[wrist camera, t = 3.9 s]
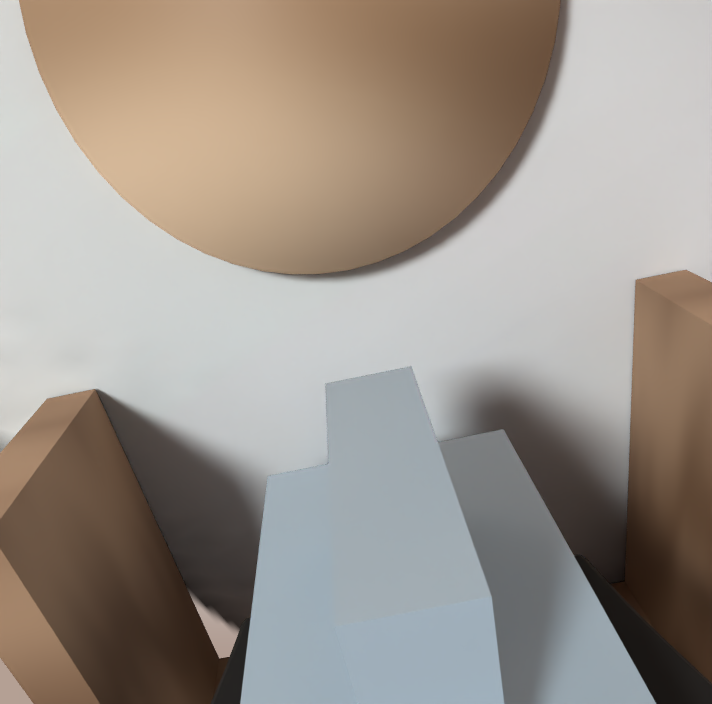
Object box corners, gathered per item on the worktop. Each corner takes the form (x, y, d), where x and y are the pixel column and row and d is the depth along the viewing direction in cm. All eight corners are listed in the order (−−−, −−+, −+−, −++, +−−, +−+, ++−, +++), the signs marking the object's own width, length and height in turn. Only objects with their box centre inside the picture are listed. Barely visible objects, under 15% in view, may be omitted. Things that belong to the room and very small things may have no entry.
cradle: (660, 599, 15) (769, 761, 11) (194, 688, 15) (157, 873, 12) (685, 269, 11) (869, 359, 7) (46, 399, 11) (-81, 547, 8)
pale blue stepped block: (520, 619, 13) (718, 1130, 7) (327, 656, 13) (339, 1193, 7) (491, 292, 9) (864, 720, 3) (225, 346, 9) (44, 870, 3)
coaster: (558, 220, 10) (567, 225, 10) (140, 305, 10) (134, 313, 10) (541, -420, 7) (553, -446, 6) (-85, -276, 7) (-107, -296, 7)
